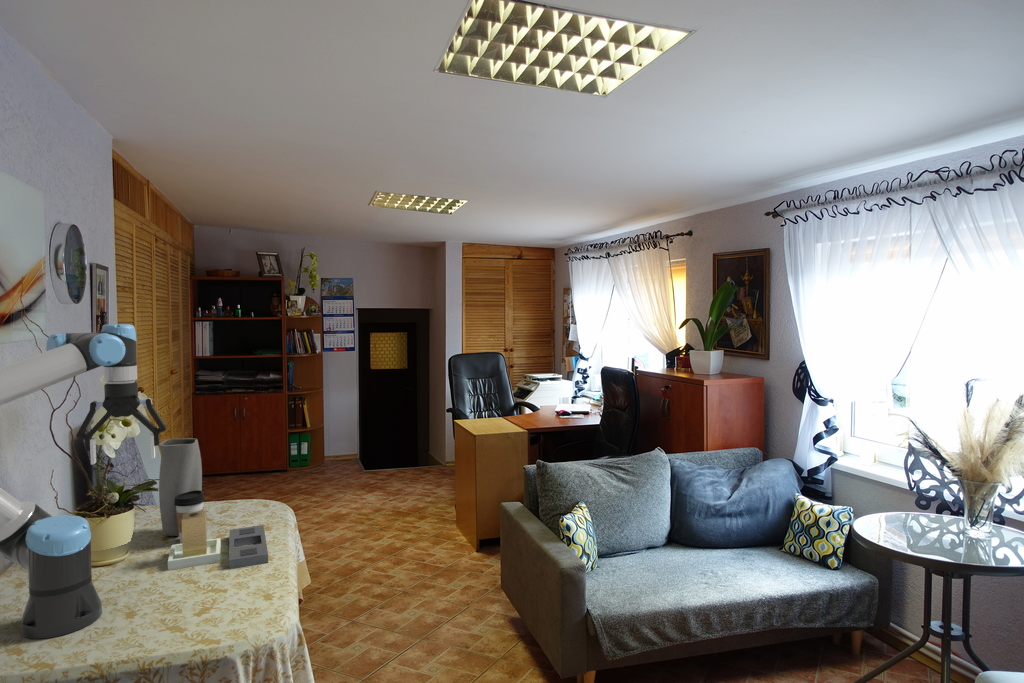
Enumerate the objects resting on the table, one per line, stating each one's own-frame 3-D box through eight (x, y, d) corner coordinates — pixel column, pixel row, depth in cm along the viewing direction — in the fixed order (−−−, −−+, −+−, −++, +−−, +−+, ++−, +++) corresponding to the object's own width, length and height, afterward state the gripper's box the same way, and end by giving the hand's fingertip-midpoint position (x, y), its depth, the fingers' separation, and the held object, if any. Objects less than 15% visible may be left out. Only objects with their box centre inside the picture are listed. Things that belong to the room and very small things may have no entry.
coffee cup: (210, 540, 189) (208, 493, 188) (181, 548, 183) (179, 499, 182) (199, 534, 195) (198, 488, 194) (171, 541, 188) (169, 494, 188)
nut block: (206, 557, 175) (205, 516, 174) (182, 561, 172) (181, 519, 171) (207, 550, 180) (206, 510, 179) (184, 553, 177) (183, 513, 177)
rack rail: (268, 562, 172) (268, 553, 172) (229, 569, 168) (229, 559, 168) (263, 532, 196) (263, 524, 196) (229, 537, 192) (229, 529, 191)
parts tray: (220, 561, 173) (219, 553, 173) (168, 570, 167) (167, 561, 167) (220, 545, 185) (220, 537, 184) (172, 553, 179) (171, 545, 179)
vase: (169, 527, 201) (166, 438, 199) (208, 525, 203) (206, 436, 201) (153, 541, 189) (149, 446, 187) (194, 538, 191) (191, 444, 189)
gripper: (175, 378, 170) (177, 452, 171) (67, 382, 159) (70, 462, 160) (173, 380, 163) (175, 458, 164) (60, 386, 152) (63, 469, 154)
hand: (123, 460), depth 162 cm, fingers open, 13 cm apart
